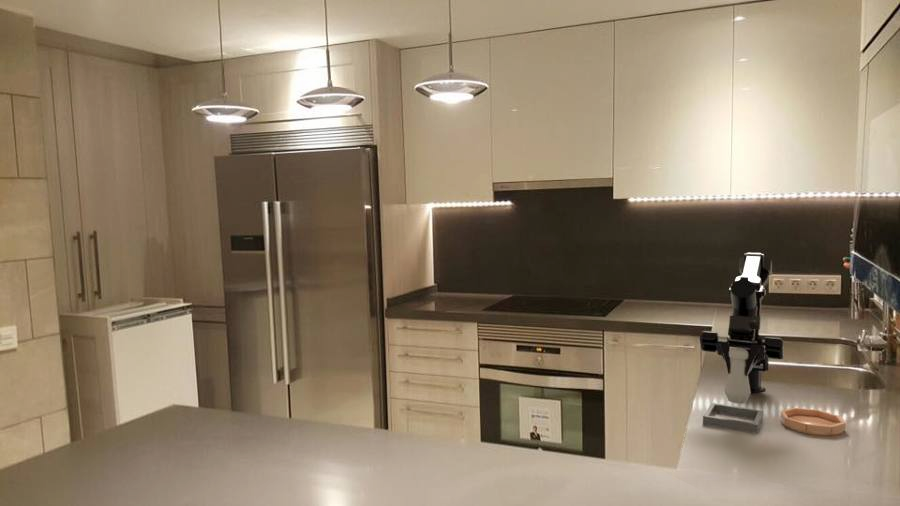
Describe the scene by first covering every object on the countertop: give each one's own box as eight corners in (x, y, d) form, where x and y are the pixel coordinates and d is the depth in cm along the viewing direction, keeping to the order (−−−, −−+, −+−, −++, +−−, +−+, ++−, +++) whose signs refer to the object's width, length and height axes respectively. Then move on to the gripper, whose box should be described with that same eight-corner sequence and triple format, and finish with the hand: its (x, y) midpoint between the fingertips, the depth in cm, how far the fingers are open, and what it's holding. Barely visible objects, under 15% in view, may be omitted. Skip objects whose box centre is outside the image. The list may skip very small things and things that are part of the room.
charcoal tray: (711, 410, 163) (711, 402, 163) (762, 418, 157) (763, 410, 157) (702, 424, 153) (703, 416, 153) (757, 433, 147) (757, 425, 146)
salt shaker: (742, 396, 157) (744, 345, 156) (754, 404, 152) (756, 351, 150) (719, 397, 157) (721, 346, 156) (731, 404, 151) (733, 351, 150)
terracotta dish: (802, 413, 160) (803, 405, 160) (855, 429, 149) (855, 420, 149) (769, 421, 154) (770, 413, 154) (821, 439, 143) (822, 429, 143)
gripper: (701, 299, 160) (693, 351, 152) (784, 305, 151) (780, 361, 142) (705, 324, 168) (697, 375, 159) (785, 331, 158) (780, 386, 150)
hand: (737, 374), depth 152 cm, fingers closed on salt shaker, 3 cm apart
